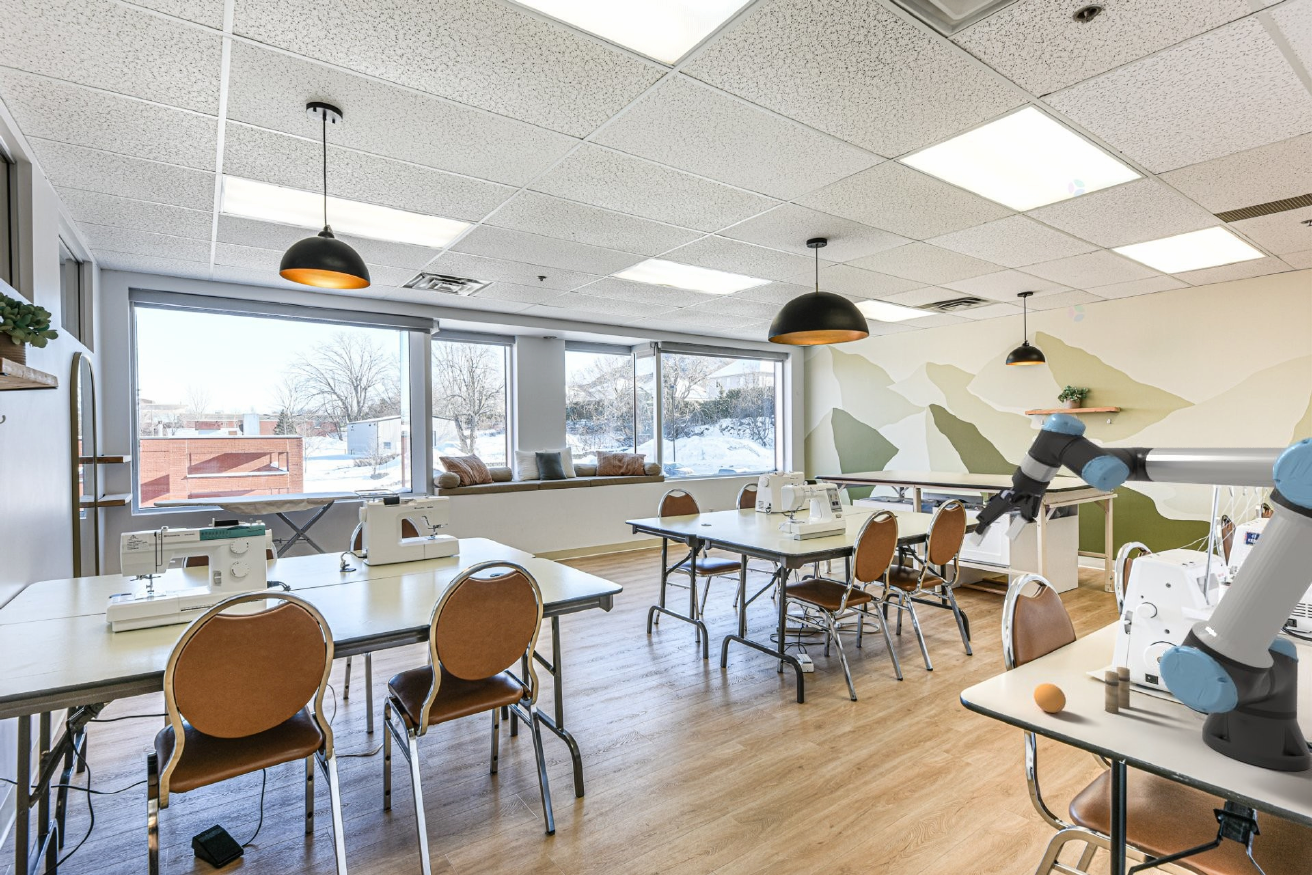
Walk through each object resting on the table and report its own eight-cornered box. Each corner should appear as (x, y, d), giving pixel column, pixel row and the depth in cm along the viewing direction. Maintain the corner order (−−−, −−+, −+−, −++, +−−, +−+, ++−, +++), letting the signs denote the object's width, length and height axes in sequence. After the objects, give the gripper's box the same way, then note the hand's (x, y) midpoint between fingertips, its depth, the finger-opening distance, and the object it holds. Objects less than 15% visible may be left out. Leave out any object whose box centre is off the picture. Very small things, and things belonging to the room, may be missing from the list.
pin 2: (1130, 706, 141) (1130, 668, 141) (1129, 709, 139) (1129, 671, 140) (1116, 703, 143) (1116, 665, 143) (1115, 706, 141) (1115, 668, 141)
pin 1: (1119, 711, 139) (1119, 672, 139) (1118, 714, 137) (1118, 675, 137) (1105, 707, 140) (1105, 669, 140) (1104, 711, 138) (1104, 673, 139)
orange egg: (1067, 710, 139) (1068, 683, 139) (1063, 719, 134) (1063, 691, 134) (1036, 703, 143) (1036, 676, 143) (1031, 711, 138) (1031, 684, 138)
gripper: (1054, 462, 158) (1012, 526, 168) (987, 466, 147) (947, 535, 158) (1080, 479, 152) (1035, 545, 163) (1012, 486, 141) (969, 555, 152)
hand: (992, 540), depth 160 cm, fingers open, 13 cm apart
